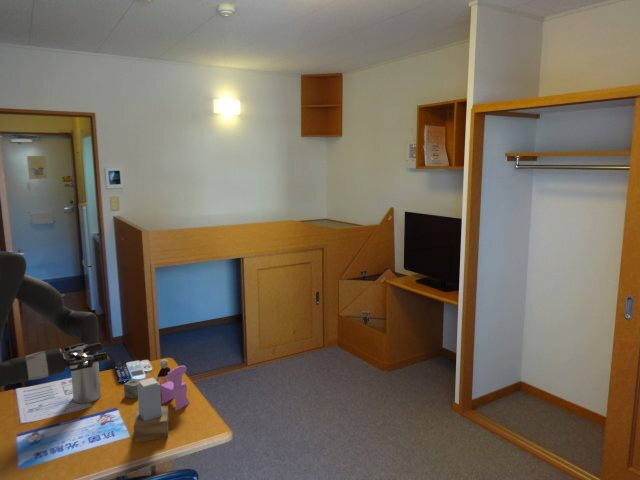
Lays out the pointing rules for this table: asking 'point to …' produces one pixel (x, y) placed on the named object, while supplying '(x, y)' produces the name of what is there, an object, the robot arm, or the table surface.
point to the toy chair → (175, 388)
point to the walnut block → (151, 426)
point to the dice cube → (131, 388)
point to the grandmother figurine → (163, 372)
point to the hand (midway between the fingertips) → (104, 350)
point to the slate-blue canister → (149, 399)
